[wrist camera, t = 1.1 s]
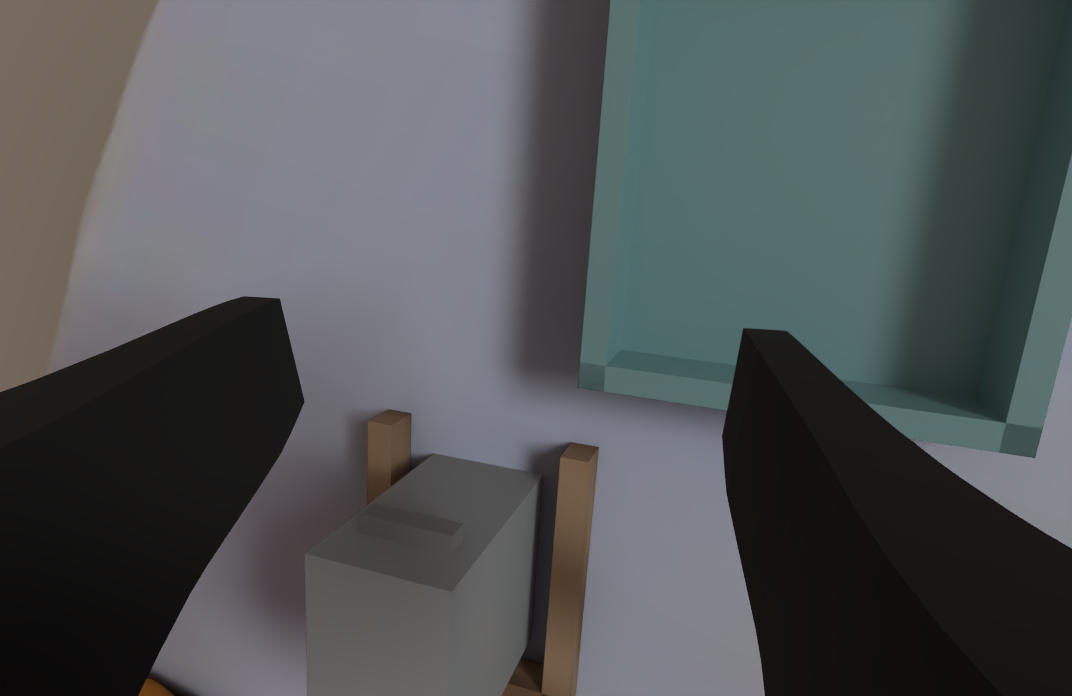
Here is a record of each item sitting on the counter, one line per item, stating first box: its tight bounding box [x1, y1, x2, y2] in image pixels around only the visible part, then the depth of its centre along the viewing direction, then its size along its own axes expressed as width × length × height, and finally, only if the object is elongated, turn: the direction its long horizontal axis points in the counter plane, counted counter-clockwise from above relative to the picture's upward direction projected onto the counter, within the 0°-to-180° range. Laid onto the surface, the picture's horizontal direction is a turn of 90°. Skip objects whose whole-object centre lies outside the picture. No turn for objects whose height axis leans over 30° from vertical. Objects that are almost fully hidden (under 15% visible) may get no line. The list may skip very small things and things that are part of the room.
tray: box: [578, 0, 1072, 458], centre depth 18 cm, size 14×12×3 cm
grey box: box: [305, 454, 543, 696], centre depth 22 cm, size 8×4×8 cm, turn 176°
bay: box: [367, 410, 599, 696], centre depth 25 cm, size 10×8×2 cm
